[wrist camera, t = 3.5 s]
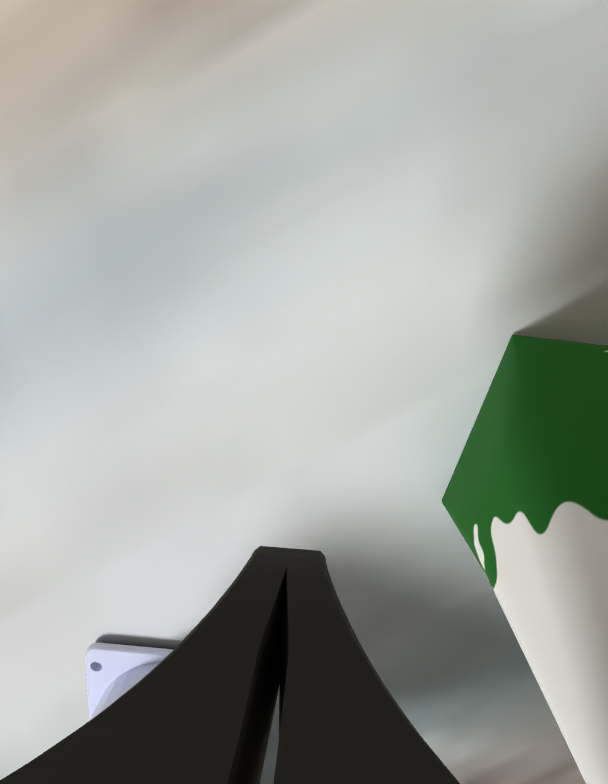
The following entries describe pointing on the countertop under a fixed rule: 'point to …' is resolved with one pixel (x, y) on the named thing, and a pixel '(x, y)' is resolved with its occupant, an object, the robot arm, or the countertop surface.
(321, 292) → the countertop surface
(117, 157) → the countertop surface
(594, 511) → the soya milk
